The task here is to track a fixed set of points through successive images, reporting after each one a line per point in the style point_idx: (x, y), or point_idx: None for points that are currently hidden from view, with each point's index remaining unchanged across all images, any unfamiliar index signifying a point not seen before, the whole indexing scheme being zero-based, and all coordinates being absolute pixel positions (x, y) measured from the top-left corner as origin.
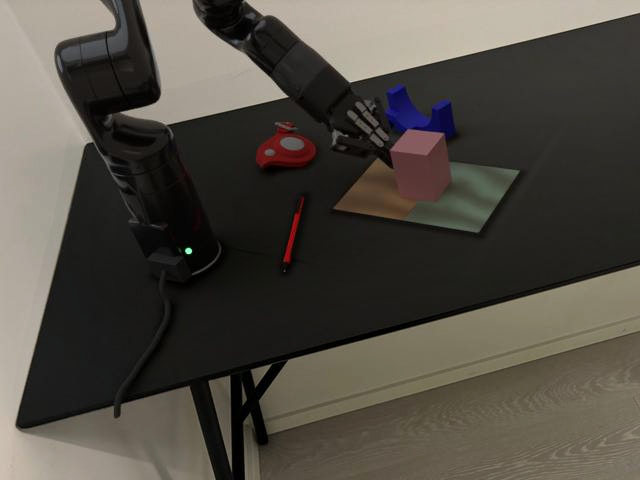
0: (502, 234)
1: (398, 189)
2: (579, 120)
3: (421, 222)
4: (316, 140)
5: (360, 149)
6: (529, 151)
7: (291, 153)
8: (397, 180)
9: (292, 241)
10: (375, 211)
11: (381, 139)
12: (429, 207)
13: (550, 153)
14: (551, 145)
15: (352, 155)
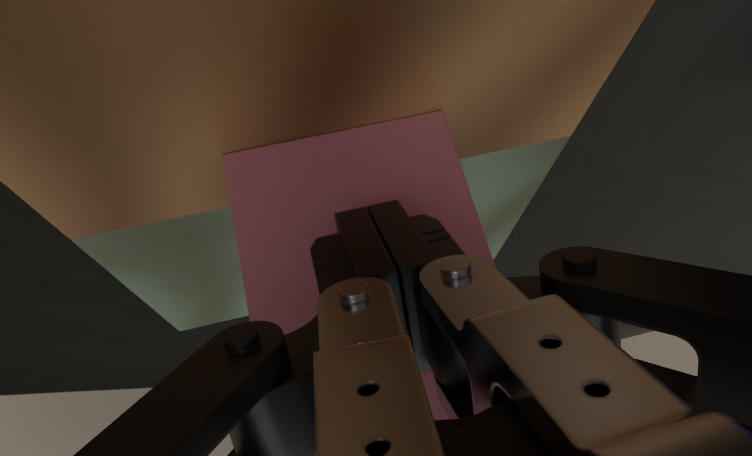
0: (215, 327)
1: (230, 200)
2: (743, 209)
3: (111, 270)
4: None
5: (253, 403)
6: (611, 214)
7: None
8: (241, 261)
9: None
10: (11, 149)
11: (437, 393)
12: (215, 243)
13: (590, 238)
14: (631, 225)
15: (112, 431)
